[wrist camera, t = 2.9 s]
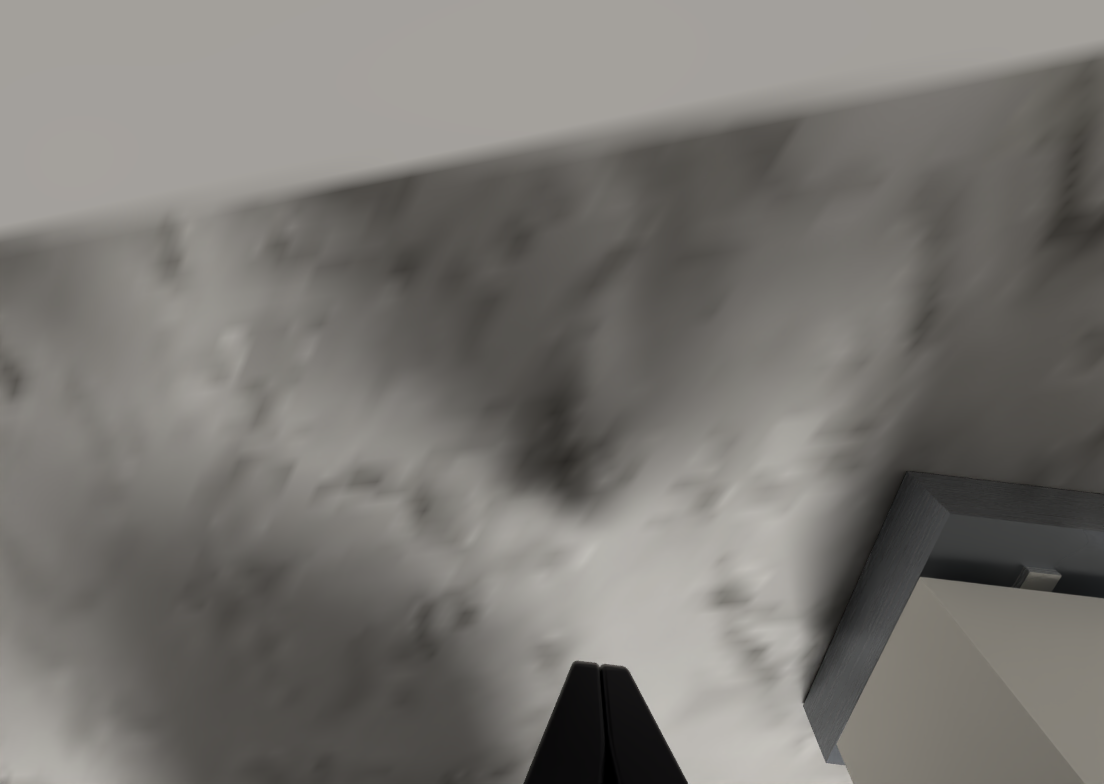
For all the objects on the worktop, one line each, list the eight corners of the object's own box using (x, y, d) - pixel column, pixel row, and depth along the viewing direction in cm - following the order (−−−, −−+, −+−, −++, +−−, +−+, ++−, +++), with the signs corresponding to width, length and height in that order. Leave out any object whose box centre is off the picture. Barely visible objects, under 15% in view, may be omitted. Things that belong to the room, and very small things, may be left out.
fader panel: (803, 705, 12) (828, 769, 11) (906, 471, 9) (955, 518, 8) (1169, 748, 12) (1236, 817, 11) (1369, 526, 9) (1485, 581, 8)
